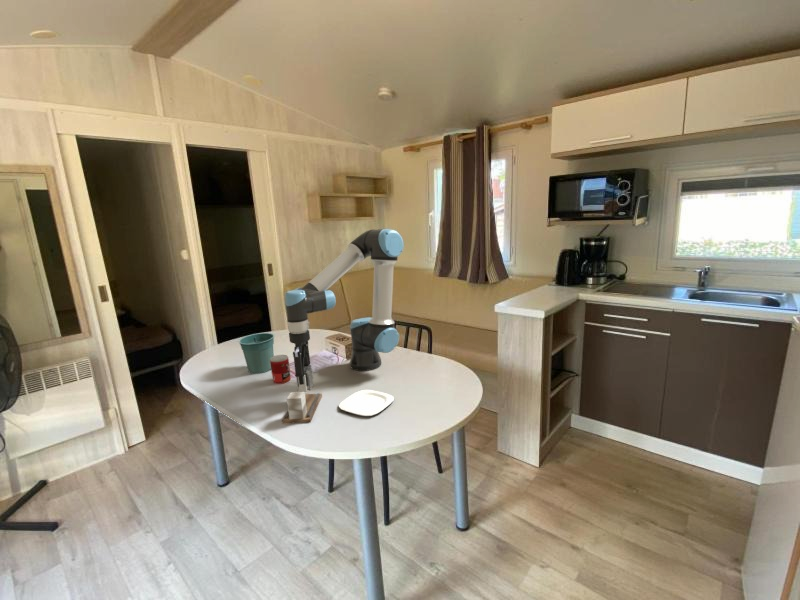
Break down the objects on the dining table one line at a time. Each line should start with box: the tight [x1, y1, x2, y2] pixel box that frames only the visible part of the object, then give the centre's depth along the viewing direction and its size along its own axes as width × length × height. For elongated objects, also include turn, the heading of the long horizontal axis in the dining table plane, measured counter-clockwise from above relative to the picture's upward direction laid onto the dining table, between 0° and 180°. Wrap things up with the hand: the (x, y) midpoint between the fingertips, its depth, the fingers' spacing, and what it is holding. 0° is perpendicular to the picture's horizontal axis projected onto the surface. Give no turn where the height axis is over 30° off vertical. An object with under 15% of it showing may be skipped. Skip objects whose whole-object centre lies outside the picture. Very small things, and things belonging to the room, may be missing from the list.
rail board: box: [281, 391, 323, 425], centre depth 142 cm, size 10×20×9 cm, turn 0°
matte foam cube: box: [295, 365, 314, 392], centre depth 147 cm, size 6×5×8 cm
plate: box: [338, 389, 395, 417], centre depth 144 cm, size 18×18×2 cm
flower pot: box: [238, 332, 275, 375], centre depth 184 cm, size 16×16×16 cm
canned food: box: [270, 354, 292, 385], centre depth 170 cm, size 8×8×11 cm
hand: (305, 387), depth 148 cm, fingers closed on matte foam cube, 6 cm apart
